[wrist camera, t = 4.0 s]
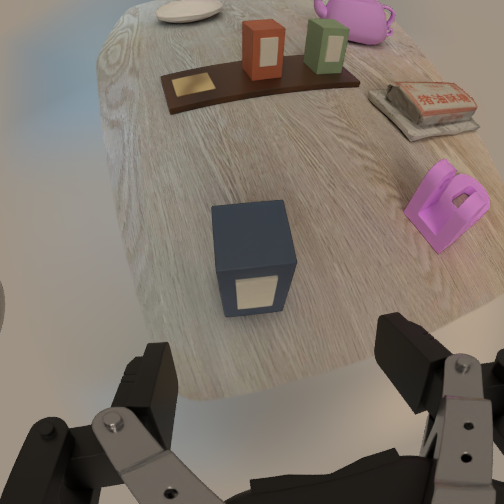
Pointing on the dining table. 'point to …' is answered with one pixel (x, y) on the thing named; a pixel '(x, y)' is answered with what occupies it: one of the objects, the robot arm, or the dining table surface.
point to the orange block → (262, 49)
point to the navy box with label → (253, 256)
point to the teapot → (359, 18)
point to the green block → (325, 45)
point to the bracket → (446, 205)
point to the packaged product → (426, 108)
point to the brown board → (244, 83)
